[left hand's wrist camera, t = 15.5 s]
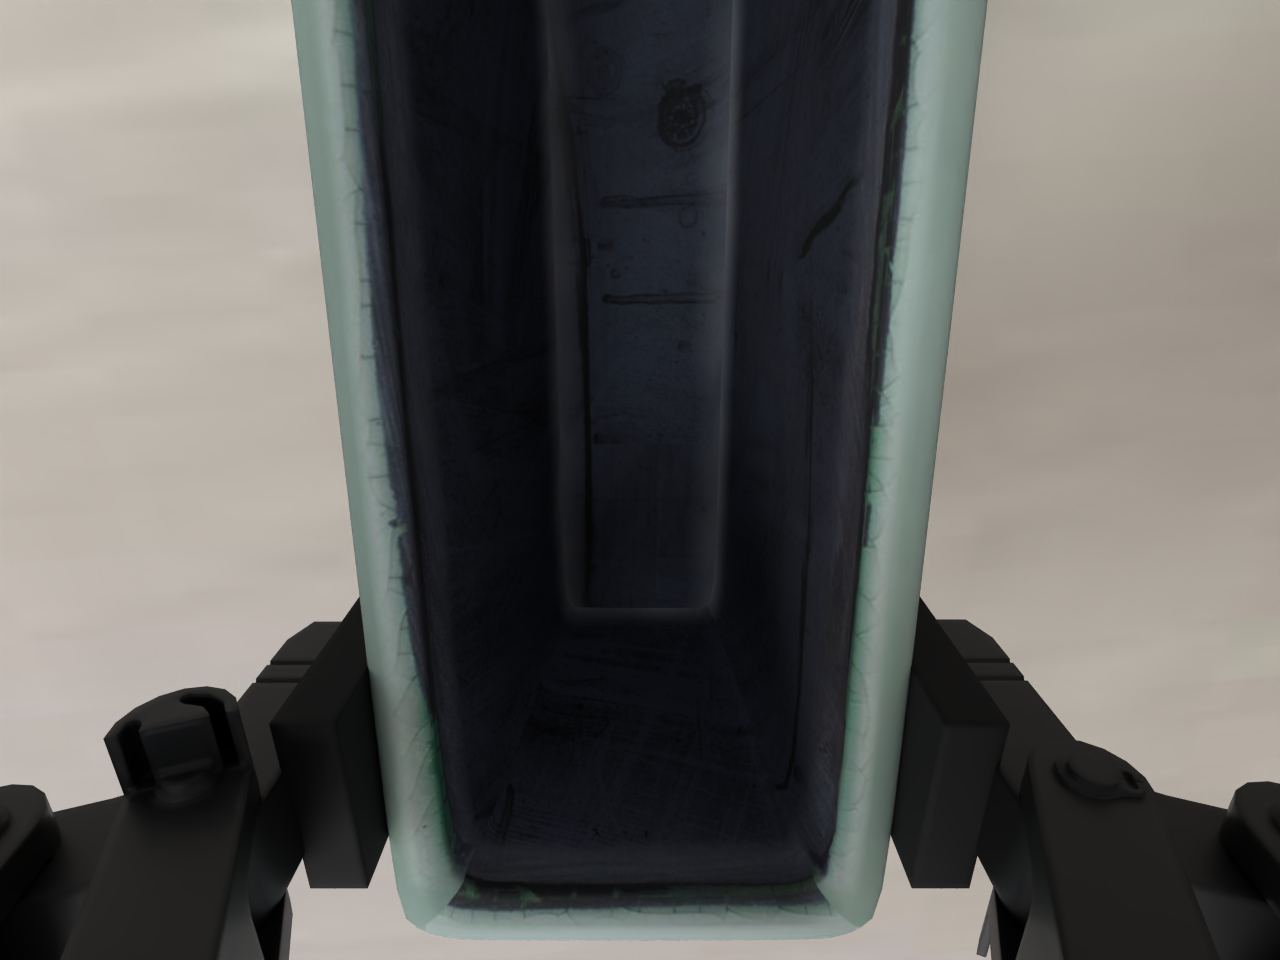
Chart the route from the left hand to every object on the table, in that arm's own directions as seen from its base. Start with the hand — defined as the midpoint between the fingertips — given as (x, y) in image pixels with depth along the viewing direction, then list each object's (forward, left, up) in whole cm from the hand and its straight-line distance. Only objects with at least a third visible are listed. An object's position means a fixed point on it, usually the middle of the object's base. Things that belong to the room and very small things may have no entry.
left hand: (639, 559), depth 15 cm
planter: (+1, -10, -3) cm, 10 cm away
